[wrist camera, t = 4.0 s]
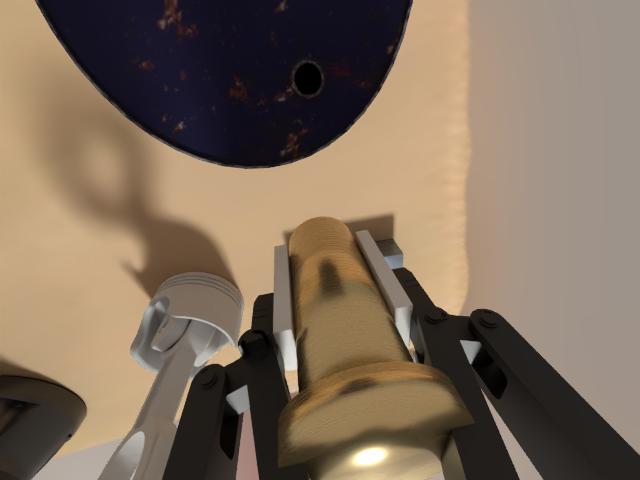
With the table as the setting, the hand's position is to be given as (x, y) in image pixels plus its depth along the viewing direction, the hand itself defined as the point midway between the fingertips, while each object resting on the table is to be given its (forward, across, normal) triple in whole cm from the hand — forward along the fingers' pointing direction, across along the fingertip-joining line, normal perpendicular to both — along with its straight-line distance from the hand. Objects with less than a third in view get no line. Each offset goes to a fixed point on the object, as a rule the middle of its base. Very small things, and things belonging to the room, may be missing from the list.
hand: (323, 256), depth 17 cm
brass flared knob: (+1, 0, 0) cm, 1 cm away
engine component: (+11, -15, -12) cm, 22 cm away
